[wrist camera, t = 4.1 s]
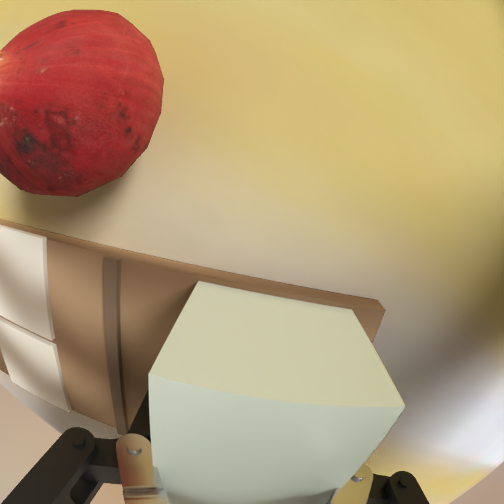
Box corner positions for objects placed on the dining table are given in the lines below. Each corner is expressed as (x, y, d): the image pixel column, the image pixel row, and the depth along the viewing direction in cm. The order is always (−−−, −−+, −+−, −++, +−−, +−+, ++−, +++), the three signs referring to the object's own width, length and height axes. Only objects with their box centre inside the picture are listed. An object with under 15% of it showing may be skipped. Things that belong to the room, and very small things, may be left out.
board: (-19, 212, 11) (-35, 216, 10) (377, 297, 12) (389, 312, 10) (5, 362, 14) (-5, 372, 13) (304, 453, 15) (306, 469, 13)
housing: (198, 280, 11) (148, 373, 5) (351, 309, 11) (405, 406, 6) (181, 445, 14) (160, 522, 8) (283, 461, 14) (286, 538, 8)
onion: (209, 154, 10) (89, 127, 3) (88, 206, 11) (-65, 261, 3) (168, 32, 9) (69, -82, 1) (59, 93, 10) (-77, 68, 2)
